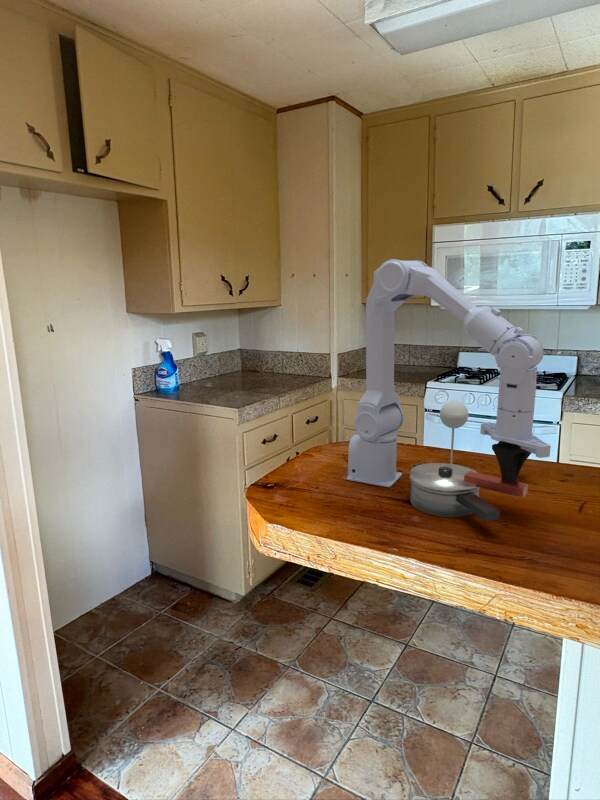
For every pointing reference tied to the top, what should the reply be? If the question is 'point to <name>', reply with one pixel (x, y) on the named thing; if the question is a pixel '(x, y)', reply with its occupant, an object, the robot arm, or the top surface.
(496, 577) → the top surface
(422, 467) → the lid
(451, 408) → the lollipop
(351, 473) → the robot arm
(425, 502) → the pot
